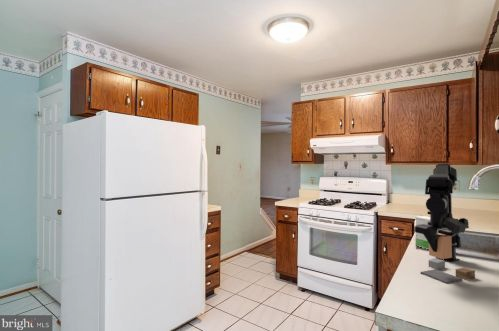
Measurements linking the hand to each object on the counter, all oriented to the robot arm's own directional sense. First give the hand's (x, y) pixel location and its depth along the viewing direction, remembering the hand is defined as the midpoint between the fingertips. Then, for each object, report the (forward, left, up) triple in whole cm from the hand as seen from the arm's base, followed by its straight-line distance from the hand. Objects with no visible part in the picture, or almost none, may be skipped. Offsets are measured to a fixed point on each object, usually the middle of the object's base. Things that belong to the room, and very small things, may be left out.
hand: (440, 250), depth 101 cm
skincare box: (-30, -29, -10) cm, 43 cm away
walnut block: (-8, +4, -10) cm, 13 cm away
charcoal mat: (0, 0, -10) cm, 10 cm away
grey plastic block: (-8, -7, -10) cm, 15 cm away
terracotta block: (0, 0, -2) cm, 2 cm away
